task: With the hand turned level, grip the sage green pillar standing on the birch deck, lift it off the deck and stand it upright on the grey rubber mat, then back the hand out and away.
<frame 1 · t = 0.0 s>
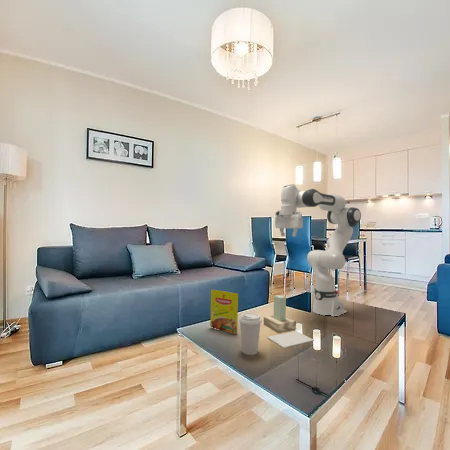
hand: (288, 236, 151), 48 cm above the table, tool pointing down, fingers open, 8 cm apart
coffee cup: (249, 351, 110), on the table
rubber mat: (290, 339, 123), on the table
deck: (279, 326, 139), on the table
sage green pillar: (279, 319, 139), point 4 cm above the table, touching deck
food package: (223, 331, 131), on the table
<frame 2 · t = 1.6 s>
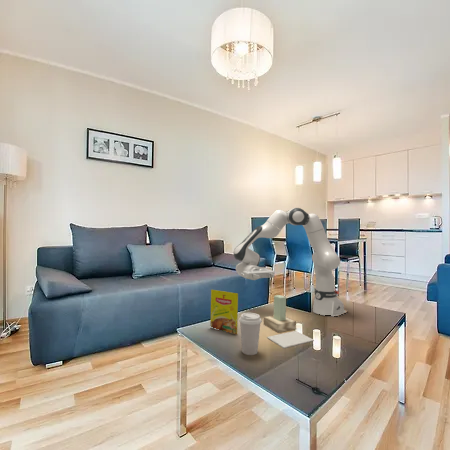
hand: (266, 276, 150), 25 cm above the table, tool horizontal, fingers open, 8 cm apart
nothing on the table moved.
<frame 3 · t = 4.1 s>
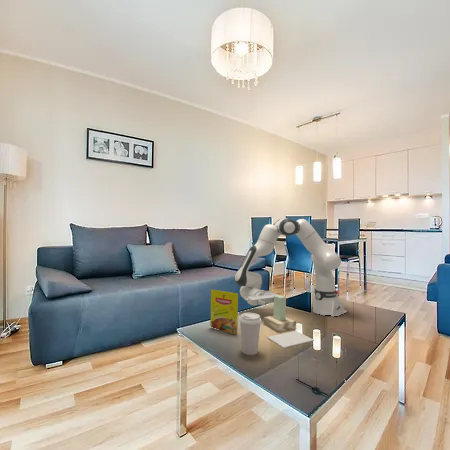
hand: (272, 302, 145), 11 cm above the table, tool horizontal, fingers open, 8 cm apart
nothing on the table moved.
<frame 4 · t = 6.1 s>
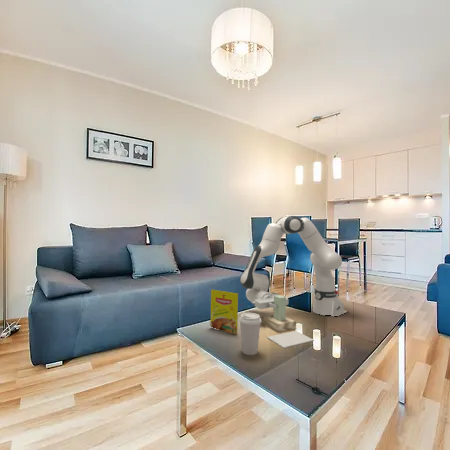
hand: (280, 306, 138), 11 cm above the table, tool horizontal, fingers closed on sage green pillar, 4 cm apart
sage green pillar: (279, 319, 139), point 4 cm above the table, touching deck, gripper
everything else where it was.
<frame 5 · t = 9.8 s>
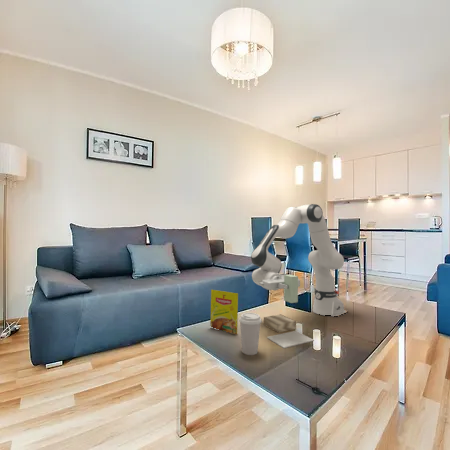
hand: (292, 286, 122), 25 cm above the table, tool horizontal, fingers closed on sage green pillar, 4 cm apart
sage green pillar: (290, 301, 123), point 18 cm above the table, touching gripper
everything else where it was.
when the fingers open (9 cm above the table, at t = 13.7 s): sage green pillar drops 2 cm, resting on rubber mat.
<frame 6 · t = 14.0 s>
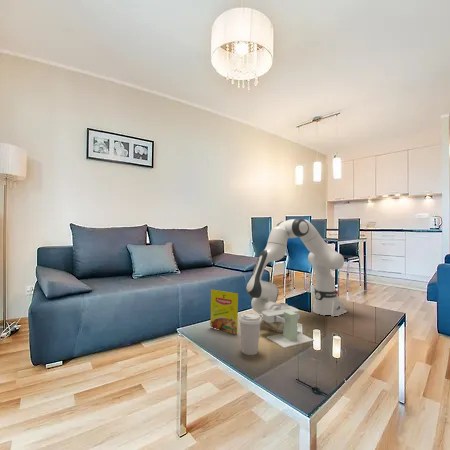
hand: (291, 319, 122), 9 cm above the table, tool horizontal, fingers open, 6 cm apart
sage green pillar: (290, 338, 123), resting on rubber mat
everything else where it was.
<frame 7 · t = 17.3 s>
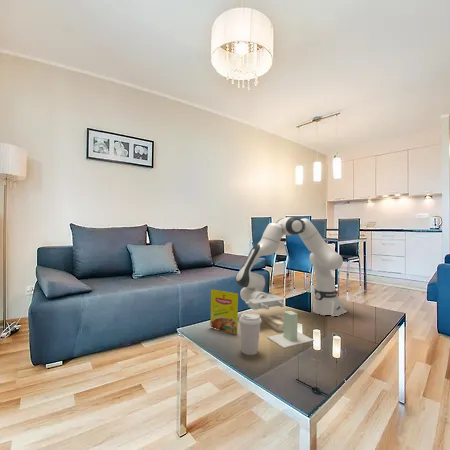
hand: (275, 306, 133), 12 cm above the table, tool horizontal, fingers open, 8 cm apart
nothing on the table moved.
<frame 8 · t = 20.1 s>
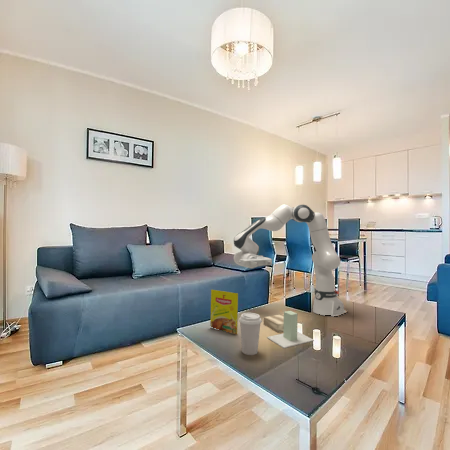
hand: (263, 263, 149), 32 cm above the table, tool horizontal, fingers open, 8 cm apart
nothing on the table moved.
at the end: sage green pillar inside the target area on the rubber mat (0.0 cm from its centre), point 0.5 cm above the rubber mat's base; sage green pillar tilted 0°; the gripper is holding nothing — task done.
